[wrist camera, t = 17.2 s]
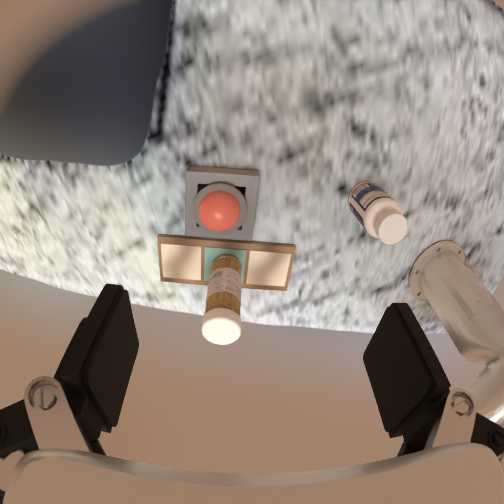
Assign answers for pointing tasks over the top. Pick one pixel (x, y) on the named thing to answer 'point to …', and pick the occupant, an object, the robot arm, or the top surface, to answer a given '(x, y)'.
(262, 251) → the board
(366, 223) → the pill bottle
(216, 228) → the dome button
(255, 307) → the top surface
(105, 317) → the robot arm
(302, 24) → the top surface
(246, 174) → the button housing
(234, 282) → the sprinkles bottle
